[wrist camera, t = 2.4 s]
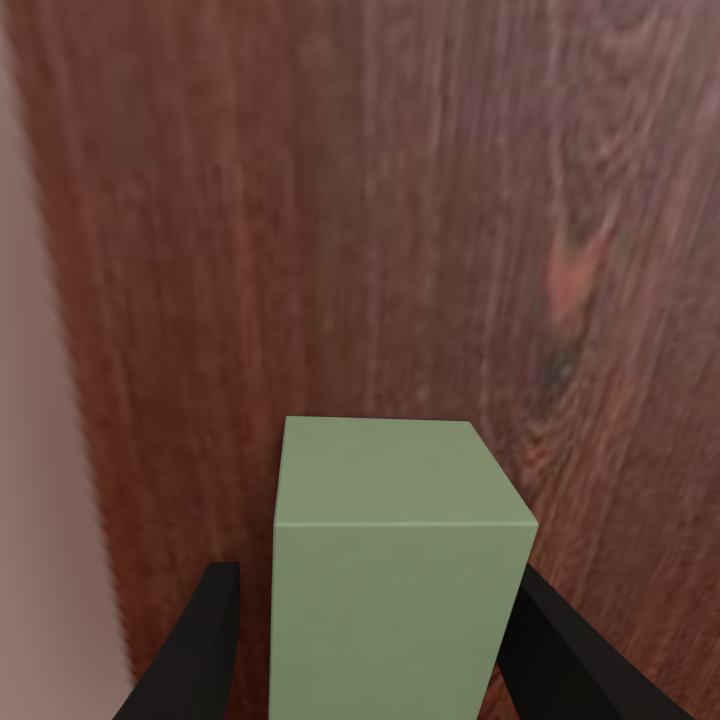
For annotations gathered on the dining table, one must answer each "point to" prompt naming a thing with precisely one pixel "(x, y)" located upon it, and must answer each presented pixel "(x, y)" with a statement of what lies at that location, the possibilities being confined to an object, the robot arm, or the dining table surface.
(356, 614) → the green rectangular block
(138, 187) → the dining table surface
